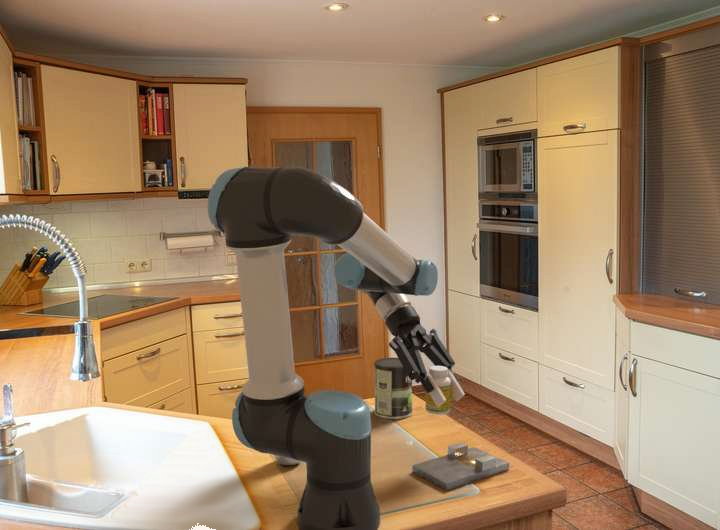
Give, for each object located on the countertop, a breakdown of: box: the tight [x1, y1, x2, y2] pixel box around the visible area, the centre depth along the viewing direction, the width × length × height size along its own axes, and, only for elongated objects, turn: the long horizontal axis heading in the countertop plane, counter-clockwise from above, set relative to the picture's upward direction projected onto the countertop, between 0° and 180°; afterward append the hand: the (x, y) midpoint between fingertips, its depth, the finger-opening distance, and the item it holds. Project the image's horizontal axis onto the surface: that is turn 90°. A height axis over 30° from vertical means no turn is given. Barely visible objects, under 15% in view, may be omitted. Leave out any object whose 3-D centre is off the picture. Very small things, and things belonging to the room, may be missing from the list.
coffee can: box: [373, 357, 413, 420], centre depth 184 cm, size 10×10×14 cm
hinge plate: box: [411, 442, 510, 491], centre depth 147 cm, size 18×11×4 cm, turn 125°
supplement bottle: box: [425, 365, 452, 416], centre depth 150 cm, size 5×5×10 cm
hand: (451, 400), depth 147 cm, fingers closed on supplement bottle, 5 cm apart
